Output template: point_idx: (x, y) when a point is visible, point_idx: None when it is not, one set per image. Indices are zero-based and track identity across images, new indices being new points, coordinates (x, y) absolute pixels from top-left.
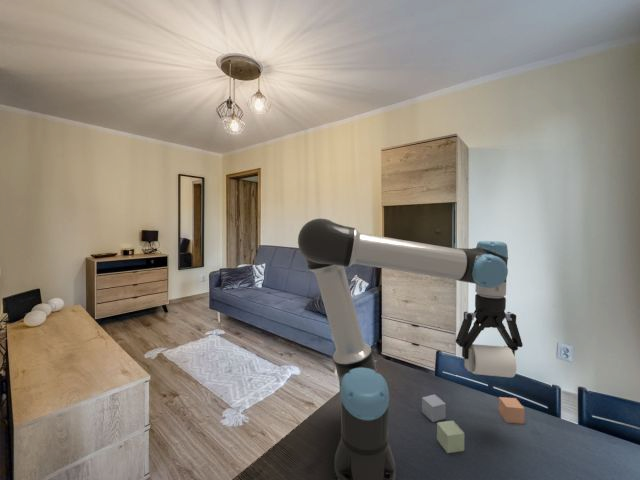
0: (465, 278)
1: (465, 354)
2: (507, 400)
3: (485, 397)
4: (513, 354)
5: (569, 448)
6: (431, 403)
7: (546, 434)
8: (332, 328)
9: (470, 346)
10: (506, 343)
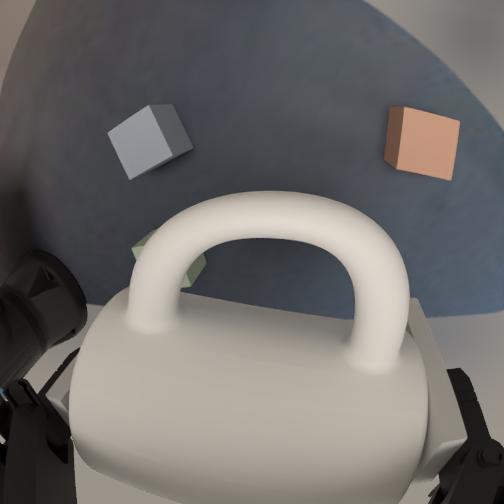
0: None
1: None
2: (423, 130)
3: (382, 33)
4: None
5: (466, 257)
6: (129, 161)
7: (456, 212)
8: None
9: (73, 457)
10: (457, 475)
